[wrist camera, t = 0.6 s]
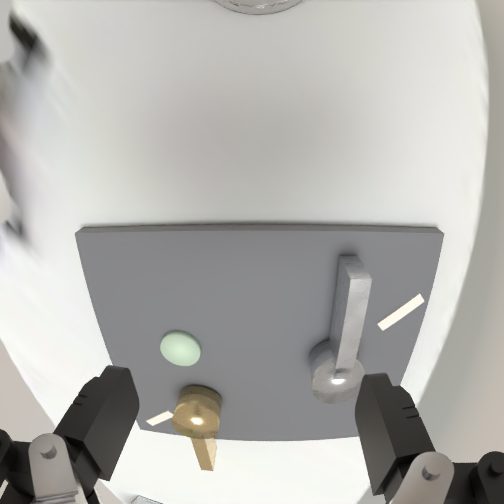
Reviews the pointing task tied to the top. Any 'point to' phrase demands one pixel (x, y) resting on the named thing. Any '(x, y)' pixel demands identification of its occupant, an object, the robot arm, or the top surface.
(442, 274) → the top surface
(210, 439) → the brass door handle
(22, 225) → the top surface
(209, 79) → the top surface
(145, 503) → the tea box
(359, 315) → the chrome lever handle
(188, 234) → the board
